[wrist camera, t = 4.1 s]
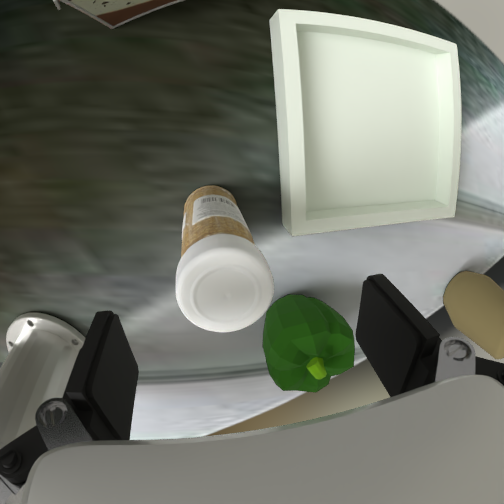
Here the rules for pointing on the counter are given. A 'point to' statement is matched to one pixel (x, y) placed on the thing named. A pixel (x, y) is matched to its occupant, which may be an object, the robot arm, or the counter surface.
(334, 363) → the bell pepper
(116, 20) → the food container
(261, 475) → the robot arm
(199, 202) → the sprinkles bottle
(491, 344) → the squeeze bottle
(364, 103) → the tray
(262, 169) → the counter surface
